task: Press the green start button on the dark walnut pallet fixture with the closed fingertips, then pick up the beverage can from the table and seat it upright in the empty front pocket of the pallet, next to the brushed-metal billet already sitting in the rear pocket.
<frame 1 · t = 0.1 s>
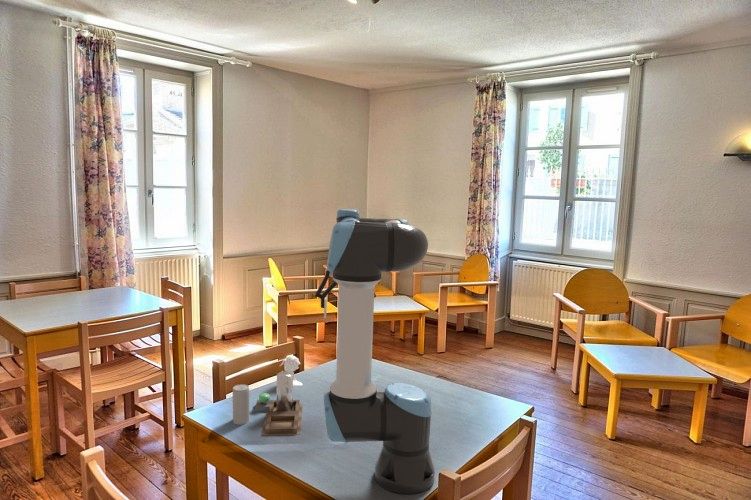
hand: (345, 317, 172), 28 cm above the table, fingers open, 13 cm apart
start button: (264, 397, 161), point 5 cm above the table, slide at 0.0 cm
figurine: (289, 388, 181), on the table
beverage can: (241, 425, 153), on the table
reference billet: (284, 410, 160), point 1 cm above the table, touching pallet
pallet: (283, 422, 155), on the table
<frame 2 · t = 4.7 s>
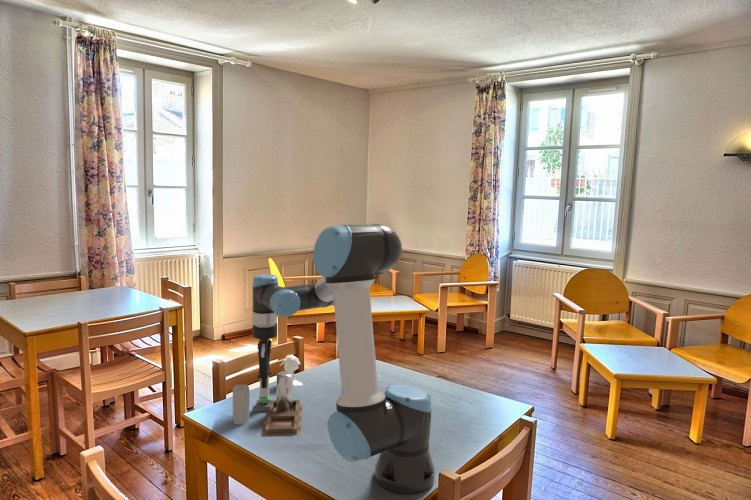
hand: (264, 396, 161), 5 cm above the table, fingers closed
start button: (264, 399, 161), point 4 cm above the table, slide at 0.5 cm, touching gripper
everything else where it was.
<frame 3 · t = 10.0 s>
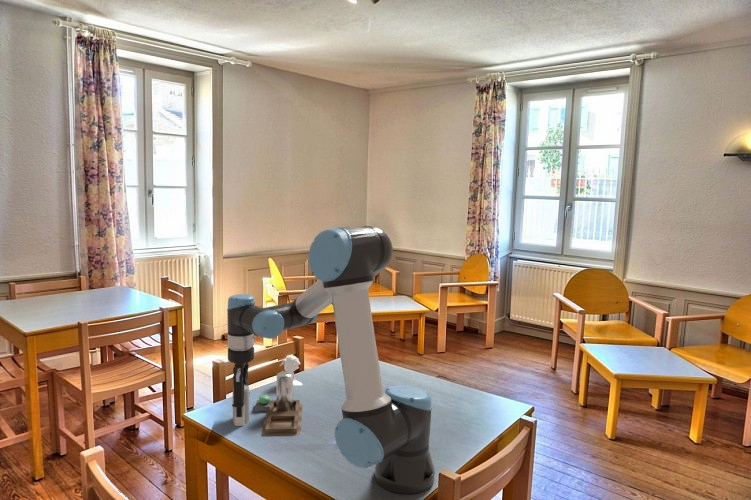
hand: (241, 421, 153), 1 cm above the table, fingers closed on beverage can, 5 cm apart
start button: (264, 399, 161), point 4 cm above the table, slide at 0.6 cm
beverage can: (241, 425, 153), on the table, touching gripper
everything else where it was.
when the fingers open (4 cm above the table, at t = 14.8 s): beverage can drops 1 cm, resting on pallet.
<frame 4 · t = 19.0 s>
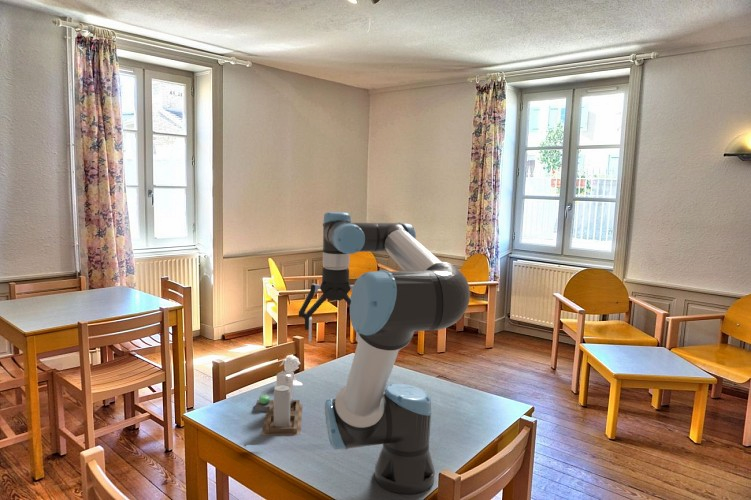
hand: (334, 340, 145), 29 cm above the table, fingers open, 13 cm apart
beverage can: (281, 426, 150), point 1 cm above the table, touching pallet
everything else where it was.
at the end: beverage can 0.1 cm from the target spot on the pallet, point 1.3 cm above the pallet's base; beverage can tilted 0°; the gripper is holding nothing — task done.
